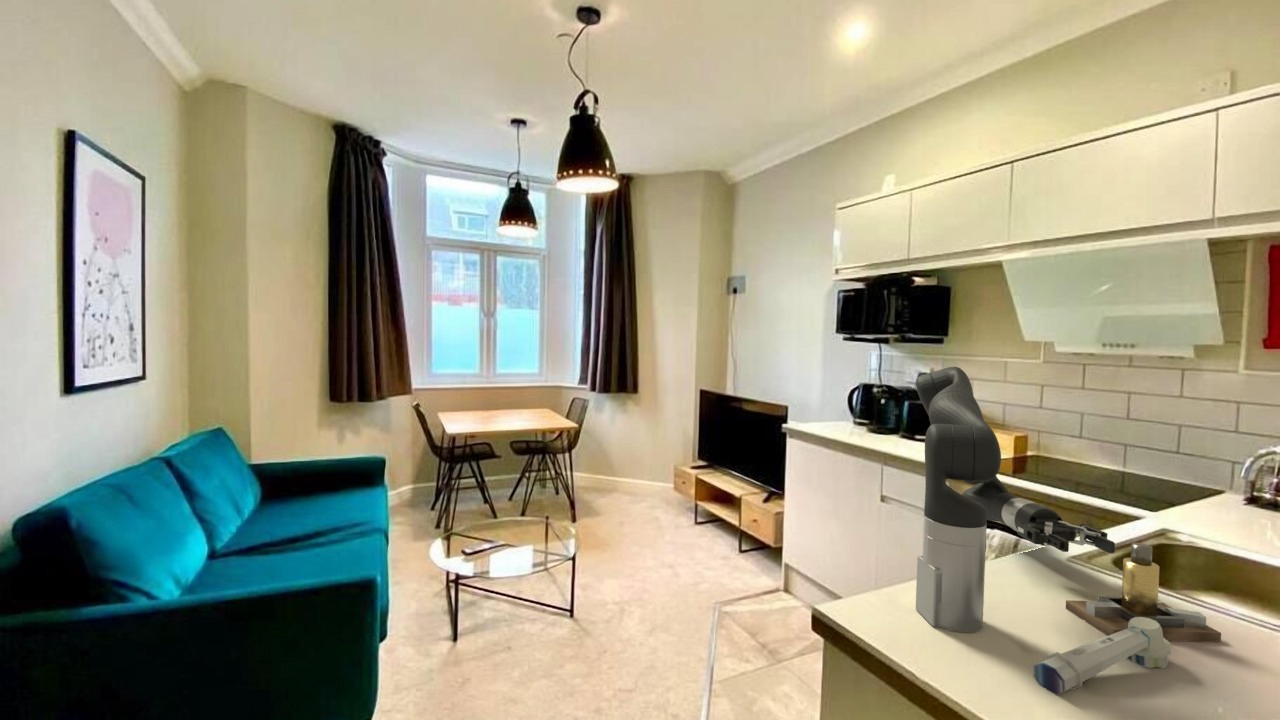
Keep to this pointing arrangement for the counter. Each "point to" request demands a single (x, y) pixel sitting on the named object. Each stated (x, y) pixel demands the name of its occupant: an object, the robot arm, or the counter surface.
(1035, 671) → the grey long angled piece
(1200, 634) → the walnut plate
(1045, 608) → the counter surface
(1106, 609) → the collar and shafts
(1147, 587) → the gold perfume bottle
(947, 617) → the robot arm
